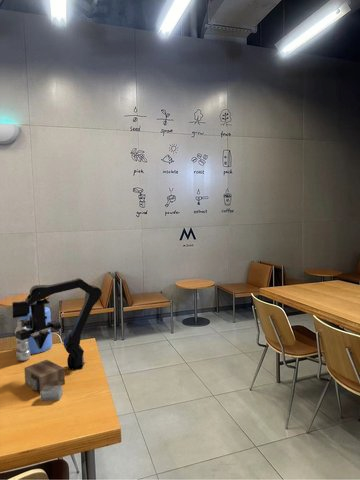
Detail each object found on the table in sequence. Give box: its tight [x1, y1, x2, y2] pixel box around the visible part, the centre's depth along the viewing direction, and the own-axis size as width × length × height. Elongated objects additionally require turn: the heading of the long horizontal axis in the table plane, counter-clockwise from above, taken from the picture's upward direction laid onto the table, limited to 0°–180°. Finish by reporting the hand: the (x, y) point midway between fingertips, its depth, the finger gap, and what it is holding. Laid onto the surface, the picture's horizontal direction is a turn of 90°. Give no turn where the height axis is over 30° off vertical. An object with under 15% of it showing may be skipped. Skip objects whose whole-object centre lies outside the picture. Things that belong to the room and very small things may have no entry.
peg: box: [30, 377, 39, 391], centre depth 137 cm, size 7×4×4 cm, turn 141°
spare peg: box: [39, 385, 63, 402], centre depth 129 cm, size 7×4×4 cm, turn 92°
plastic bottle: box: [14, 319, 32, 362], centre depth 164 cm, size 6×7×20 cm
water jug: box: [18, 306, 53, 355], centre depth 178 cm, size 16×16×28 cm
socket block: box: [23, 359, 66, 394], centre depth 140 cm, size 10×14×7 cm
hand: (40, 348), depth 148 cm, fingers closed
